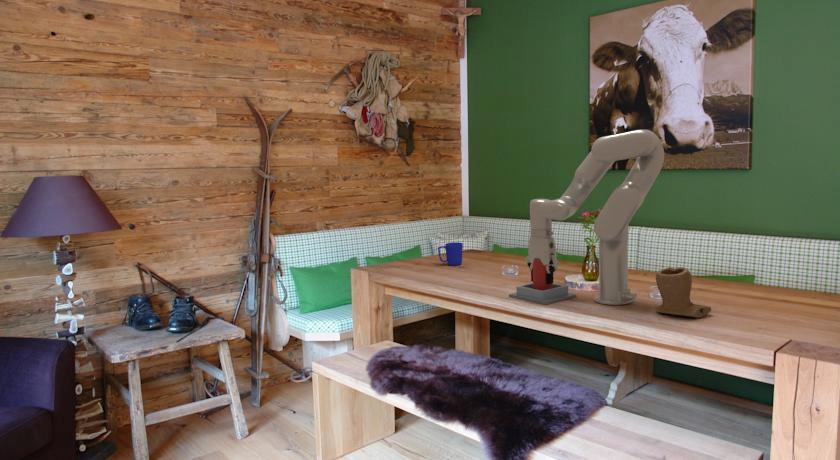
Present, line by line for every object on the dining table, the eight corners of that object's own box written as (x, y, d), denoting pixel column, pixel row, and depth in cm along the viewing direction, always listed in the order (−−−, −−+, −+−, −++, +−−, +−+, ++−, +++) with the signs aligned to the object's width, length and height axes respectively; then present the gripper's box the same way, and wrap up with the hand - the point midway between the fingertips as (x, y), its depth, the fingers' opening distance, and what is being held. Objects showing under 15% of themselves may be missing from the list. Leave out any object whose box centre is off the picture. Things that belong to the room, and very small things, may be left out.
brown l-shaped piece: (648, 315, 209) (647, 268, 207) (666, 307, 217) (666, 262, 215) (695, 323, 198) (695, 274, 196) (712, 315, 206) (713, 267, 204)
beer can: (551, 292, 235) (550, 259, 234) (532, 292, 236) (532, 259, 235) (551, 288, 241) (551, 256, 240) (533, 288, 243) (532, 256, 241)
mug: (436, 264, 314) (435, 244, 312) (459, 262, 317) (459, 241, 316) (441, 267, 306) (440, 246, 304) (466, 265, 309) (465, 244, 308)
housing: (576, 297, 237) (576, 286, 236) (545, 305, 227) (545, 293, 227) (539, 289, 251) (539, 279, 251) (508, 296, 242) (508, 286, 241)
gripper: (566, 234, 232) (567, 284, 234) (530, 230, 245) (532, 277, 248) (552, 236, 227) (553, 287, 229) (516, 232, 241) (517, 280, 243)
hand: (542, 282), depth 239 cm, fingers closed on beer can, 6 cm apart
